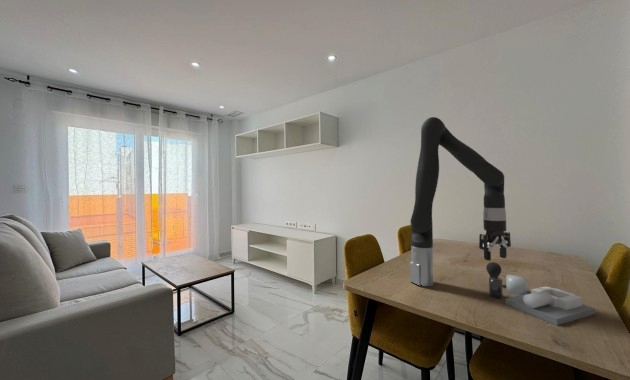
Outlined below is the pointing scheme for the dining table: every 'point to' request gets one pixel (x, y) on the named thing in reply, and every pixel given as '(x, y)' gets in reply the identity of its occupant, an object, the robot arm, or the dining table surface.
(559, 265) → the dining table surface
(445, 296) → the dining table surface
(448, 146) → the robot arm
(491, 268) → the light bulb
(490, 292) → the dark grey domed cylinder
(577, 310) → the socket block
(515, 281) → the cylinder
